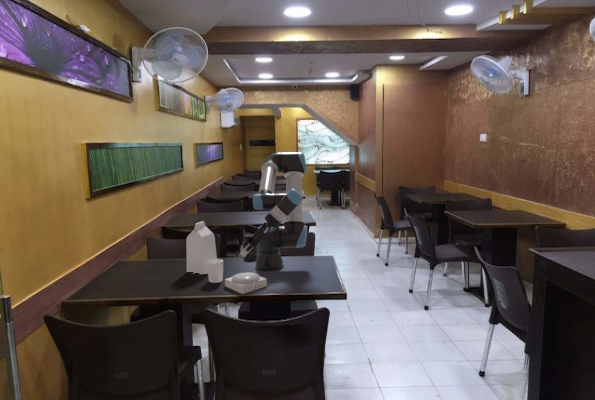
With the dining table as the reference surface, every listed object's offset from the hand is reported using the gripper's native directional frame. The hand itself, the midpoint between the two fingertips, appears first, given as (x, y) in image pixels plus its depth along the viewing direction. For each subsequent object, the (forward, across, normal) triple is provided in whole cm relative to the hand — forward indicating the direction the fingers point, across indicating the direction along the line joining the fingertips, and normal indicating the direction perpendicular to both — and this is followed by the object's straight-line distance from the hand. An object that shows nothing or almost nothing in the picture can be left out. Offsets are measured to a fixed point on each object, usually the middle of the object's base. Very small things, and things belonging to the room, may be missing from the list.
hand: (242, 253), depth 189 cm
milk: (+28, +28, +5) cm, 40 cm away
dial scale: (+11, 0, -12) cm, 16 cm away
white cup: (+22, +10, -2) cm, 24 cm away
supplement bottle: (0, 0, -5) cm, 5 cm away
